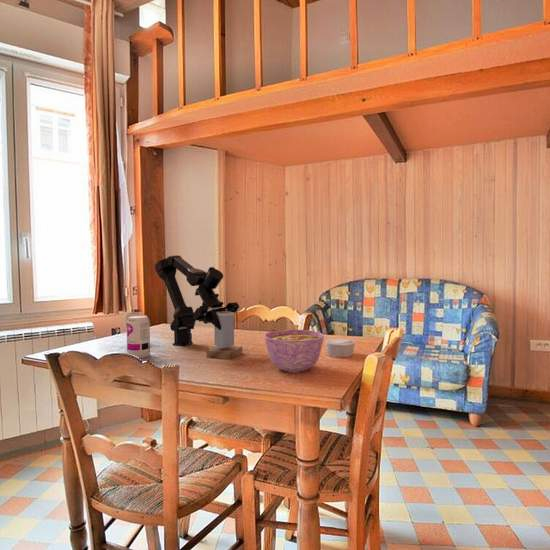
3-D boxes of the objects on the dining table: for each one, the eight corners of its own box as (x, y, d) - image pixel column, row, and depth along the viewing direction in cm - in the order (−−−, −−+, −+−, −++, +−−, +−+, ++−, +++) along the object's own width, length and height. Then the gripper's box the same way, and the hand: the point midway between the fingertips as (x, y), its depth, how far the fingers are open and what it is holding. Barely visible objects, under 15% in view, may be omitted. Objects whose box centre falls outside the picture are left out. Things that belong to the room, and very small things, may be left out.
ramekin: (352, 359, 162) (353, 345, 162) (322, 357, 166) (322, 343, 165) (356, 352, 173) (356, 339, 173) (328, 351, 176) (328, 337, 176)
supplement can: (129, 359, 163) (128, 319, 163) (125, 355, 171) (124, 316, 170) (152, 357, 167) (151, 317, 166) (147, 352, 174) (146, 314, 174)
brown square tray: (206, 358, 167) (206, 350, 167) (219, 352, 176) (219, 345, 176) (230, 360, 163) (230, 352, 163) (242, 354, 172) (242, 347, 172)
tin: (214, 345, 169) (214, 312, 169) (225, 343, 173) (225, 311, 172) (223, 347, 166) (222, 313, 165) (234, 345, 169) (234, 312, 169)
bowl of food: (320, 361, 160) (320, 329, 159) (328, 377, 140) (328, 340, 139) (264, 362, 159) (264, 329, 158) (264, 378, 139) (263, 341, 138)
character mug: (148, 343, 191) (147, 313, 190) (132, 346, 186) (131, 315, 186) (136, 340, 199) (135, 311, 198) (120, 342, 194) (120, 312, 193)
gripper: (218, 307, 186) (236, 337, 179) (180, 312, 173) (197, 344, 166) (230, 290, 180) (249, 320, 173) (191, 293, 167) (209, 326, 160)
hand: (226, 328), depth 168 cm, fingers closed on tin, 5 cm apart
